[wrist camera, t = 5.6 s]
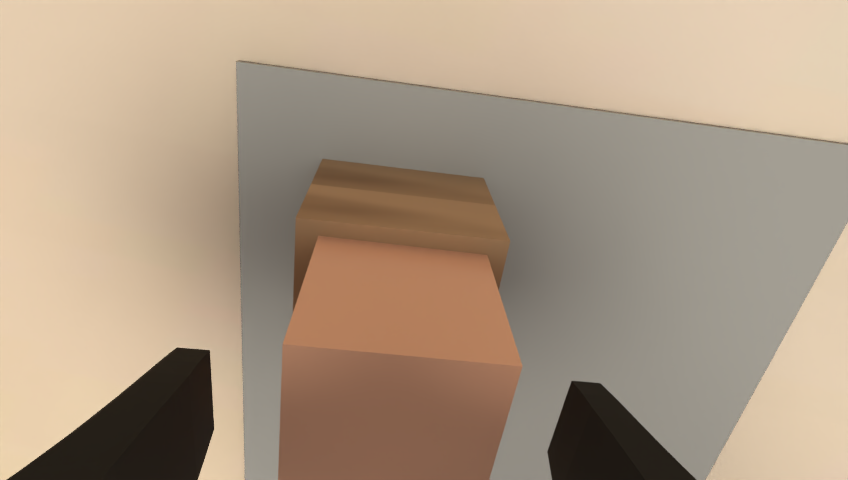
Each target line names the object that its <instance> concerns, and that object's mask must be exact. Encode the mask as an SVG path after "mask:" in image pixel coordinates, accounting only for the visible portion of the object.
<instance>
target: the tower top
mask: <svg viewBox="0 0 848 480" xmlns="http://www.w3.org/2000/svg"><path fill="white" fill-rule="evenodd" d="M318 236H326V237H335V238H343V239H352V240H361V241H370V242H379V243H387V244H396V245H405V246H414V247H422V248H431V249H440V250H449V251H457V252H466V253H475V254H484V255H488V259H489V262H490V265H491V268H492V271H493V274H494V278H495V281H496V284H497V287H498V290H499V287H500V282H501V278H502V274H503V270H504V266H505V261H506V257H507V253H508V249H509V245H510V239H509V237H508V234H507V232H506V230H505V227H504V225H503V222H502V220H501V218H500V215H499V213H498V211H497V208H496V206H495V205H489V204H481V203H472V202H463V201H455V200H446V199H437V198H429V197H420V196H411V195H403V194H394V193H385V192H377V191H368V190H359V189H351V188H342V187H333V186H325V185H316V184H311V185H310V187H309V189H308V192H307V194H306V196H305V198H304V200H303V203H302V205H301V207H300V209H299V211H298V214H297V216H296V223H295V255H294V287H293V311H294V308H295V305H296V302H297V299H298V296H299V293H300V290H301V287H302V284H303V281H304V278H305V275H306V272H307V269H308V266H309V263H310V260H311V257H312V254H313V250H314V247H315V244H316V241H317V238H318Z"/></svg>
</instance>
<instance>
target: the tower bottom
mask: <svg viewBox="0 0 848 480" xmlns="http://www.w3.org/2000/svg"><path fill="white" fill-rule="evenodd" d="M311 184H316V185H325V186H333V187H342V188H351V189H359V190H368V191H377V192H385V193H394V194H403V195H411V196H420V197H429V198H437V199H446V200H455V201H463V202H472V203H481V204H489V205H495V204H494V201H493V199H492V196H491V194H490V192H489V189H488V187H487V185H486V182H485V180H484V178H479V177H471V176H462V175H454V174H446V173H437V172H429V171H421V170H412V169H404V168H396V167H387V166H379V165H371V164H362V163H354V162H346V161H338V160H329V159H322V161H321V163H320V165H319V167H318V170H317V172H316V174H315V176H314V178H313V181H312V183H311Z"/></svg>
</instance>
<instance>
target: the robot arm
mask: <svg viewBox="0 0 848 480" xmlns="http://www.w3.org/2000/svg"><path fill="white" fill-rule="evenodd" d="M213 430H214V419H213V401H212V383H211V365H210V350H199V349H187V348H176V349H175V350H173V351H172V352H171V353H169V354H168V355H167V356H166V357H164V358H163V359H162V360H161V361H159V362H158V363H157V364H156V365H155V366H153V367H152V368H151V369H150V370H149V371H148V372H146V373H145V374H144V375H143V376H142V377H140V378H139V379H138V380H137V381H136V382H134V383H133V384H132V385H131V386H129V387H128V388H127V389H126V390H125V391H123V392H122V393H121V394H120V395H119V396H117V397H116V398H115V399H114V400H112V401H111V402H110V403H109V404H107V405H106V406H105V407H104V408H102V409H101V410H100V411H99V412H97V413H96V414H95V415H94V416H92V417H91V418H90V419H88V420H87V421H86V422H85V423H83V424H82V425H81V426H80V427H78V428H77V429H76V430H74V431H73V432H72V433H71V434H69V435H68V436H67V437H65V438H64V439H62V440H61V441H60V442H58V443H57V444H56V445H54V446H53V447H52V448H50V449H49V450H47V451H46V452H45V453H43V454H42V455H41V456H39V457H38V458H37V459H35V460H34V461H32V462H31V463H30V464H28V465H27V466H26V467H24V468H23V469H22V470H20V471H19V472H17V473H16V474H14V475H13V476H11V477H10V478H9V479H7V480H198V477H199V474H200V471H201V468H202V465H203V462H204V459H205V456H206V453H207V449H208V446H209V443H210V440H211V437H212V434H213ZM547 453H548V459H549V465H550V471H551V476H552V480H696V479H695V478H694V477H693V476H692V475H691V474H690V473H689V472H688V471H687V470H686V469H685V468H684V467H683V466H682V465H681V464H680V463H679V462H678V461H677V460H676V459H675V458H674V457H673V456H672V455H671V454H670V453H669V452H668V451H667V450H666V449H665V448H664V447H663V446H662V445H661V444H660V443H659V442H658V441H657V440H656V439H655V438H654V437H653V436H652V435H651V434H650V433H649V432H648V431H647V430H646V429H645V428H644V427H643V426H642V425H641V424H640V423H639V422H638V420H637V419H636V418H635V417H634V416H633V415H632V414H631V413H630V412H629V411H628V410H627V409H626V408H625V407H624V406H623V405H622V404H621V403H620V402H619V401H618V400H617V399H616V398H615V397H614V396H613V395H612V394H611V393H610V392H609V391H608V390H607V389H606V388H605V387H604V386H603V385H602V384H601V383H594V382H582V381H571V384H570V387H569V390H568V393H567V396H566V398H565V401H564V404H563V407H562V410H561V413H560V416H559V419H558V422H557V425H556V428H555V431H554V433H553V436H552V439H551V442H550V445H549V448H548V451H547Z"/></svg>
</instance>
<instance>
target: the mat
mask: <svg viewBox="0 0 848 480" xmlns="http://www.w3.org/2000/svg"><path fill="white" fill-rule="evenodd" d="M236 75H237V123H238V171H239V219H240V267H241V316H242V364H243V412H244V460H245V480H278V464H279V434H280V404H281V375H282V345H283V341H284V338H285V335H286V332H287V329H288V326H289V323H290V320H291V317H292V314H293V287H294V255H295V223H296V216H297V214H298V211H299V209H300V207H301V205H302V203H303V200H304V198H305V196H306V194H307V192H308V189H309V187H310V185H311V183H312V181H313V178H314V176H315V174H316V172H317V170H318V167H319V165H320V163H321V161H322V159H329V160H338V161H346V162H354V163H362V164H371V165H379V166H387V167H396V168H404V169H412V170H421V171H429V172H437V173H446V174H454V175H462V176H471V177H479V178H484V180H485V182H486V185H487V187H488V189H489V192H490V194H491V196H492V199H493V201H494V204H495V206H496V208H497V211H498V213H499V215H500V218H501V220H502V222H503V225H504V227H505V230H506V232H507V234H508V237H509V239H510V245H509V249H508V253H507V257H506V261H505V266H504V270H503V274H502V278H501V282H500V287H499V293H500V296H501V300H502V303H503V306H504V309H505V312H506V315H507V319H508V322H509V325H510V328H511V331H512V334H513V338H514V341H515V344H516V347H517V350H518V353H519V357H520V360H521V363H522V366H523V367H522V370H521V374H520V377H519V380H518V384H517V387H516V391H515V394H514V397H513V401H512V404H511V407H510V411H509V414H508V418H507V421H506V424H505V428H504V431H503V435H502V438H501V441H500V445H499V448H498V451H497V455H496V458H495V462H494V465H493V468H492V472H491V475H490V479H489V480H552V476H551V471H550V465H549V459H548V453H547V451H548V448H549V445H550V442H551V439H552V436H553V433H554V431H555V428H556V425H557V422H558V419H559V416H560V413H561V410H562V407H563V404H564V401H565V398H566V396H567V393H568V390H569V387H570V384H571V381H582V382H594V383H601V384H602V385H603V386H604V387H605V388H606V389H607V390H608V391H609V392H610V393H611V394H612V395H613V396H614V397H615V398H616V399H617V400H618V401H619V402H620V403H621V404H622V405H623V406H624V407H625V408H626V409H627V410H628V411H629V412H630V413H631V414H632V415H633V416H634V417H635V418H636V419H637V420H638V422H639V423H640V424H641V425H642V426H643V427H644V428H645V429H646V430H647V431H648V432H649V433H650V434H651V435H652V436H653V437H654V438H655V439H656V440H657V441H658V442H659V443H660V444H661V445H662V446H663V447H664V448H665V449H666V450H667V451H668V452H669V453H670V454H671V455H672V456H673V457H674V458H675V459H676V460H677V461H678V462H679V463H680V464H681V465H682V466H683V467H684V468H685V469H686V470H687V471H688V472H689V473H690V474H691V475H692V476H693V477H694V478H695V479H696V480H706V478H707V476H708V474H709V473H710V471H711V469H712V467H713V465H714V463H715V462H716V460H717V458H718V456H719V454H720V453H721V451H722V449H723V447H724V445H725V444H726V442H727V440H728V438H729V436H730V434H731V433H732V431H733V429H734V427H735V425H736V424H737V422H738V420H739V418H740V416H741V414H742V413H743V411H744V409H745V407H746V405H747V404H748V402H749V400H750V398H751V396H752V395H753V393H754V391H755V389H756V387H757V385H758V384H759V382H760V380H761V378H762V376H763V375H764V373H765V371H766V369H767V367H768V366H769V364H770V362H771V360H772V358H773V356H774V355H775V353H776V351H777V349H778V347H779V346H780V344H781V342H782V340H783V338H784V336H785V335H786V333H787V331H788V329H789V327H790V326H791V324H792V322H793V320H794V318H795V317H796V315H797V313H798V311H799V309H800V307H801V306H802V304H803V302H804V300H805V298H806V297H807V295H808V293H809V291H810V289H811V288H812V286H813V284H814V282H815V280H816V278H817V277H818V275H819V273H820V271H821V269H822V268H823V266H824V264H825V262H826V260H827V259H828V257H829V255H830V253H831V251H832V249H833V248H834V246H835V244H836V242H837V240H838V239H839V237H840V235H841V233H842V231H843V229H844V228H845V226H846V224H847V222H848V144H844V143H837V142H830V141H822V140H815V139H808V138H800V137H793V136H786V135H778V134H771V133H764V132H756V131H749V130H742V129H735V128H727V127H720V126H713V125H705V124H698V123H691V122H683V121H676V120H669V119H661V118H654V117H647V116H639V115H632V114H625V113H618V112H610V111H603V110H596V109H588V108H581V107H574V106H566V105H559V104H552V103H544V102H537V101H530V100H522V99H515V98H508V97H501V96H493V95H486V94H479V93H471V92H464V91H457V90H449V89H442V88H435V87H427V86H420V85H413V84H405V83H398V82H391V81H384V80H376V79H369V78H362V77H354V76H347V75H340V74H332V73H325V72H318V71H310V70H303V69H296V68H288V67H281V66H274V65H267V64H259V63H252V62H245V61H236Z"/></svg>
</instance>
